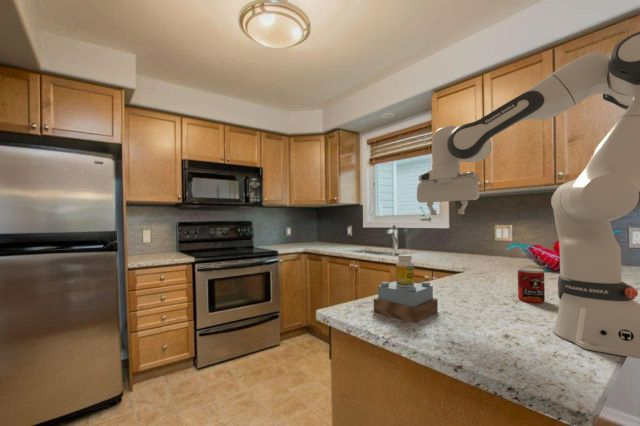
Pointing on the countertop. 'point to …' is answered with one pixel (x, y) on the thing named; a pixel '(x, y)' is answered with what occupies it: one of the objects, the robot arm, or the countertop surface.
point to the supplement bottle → (404, 271)
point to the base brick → (406, 309)
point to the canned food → (531, 285)
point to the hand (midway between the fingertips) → (446, 214)
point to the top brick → (405, 293)
